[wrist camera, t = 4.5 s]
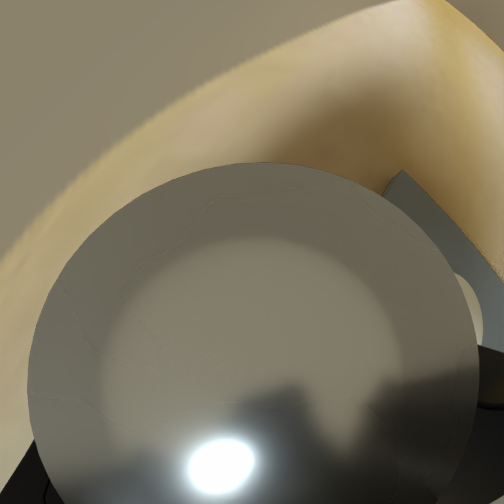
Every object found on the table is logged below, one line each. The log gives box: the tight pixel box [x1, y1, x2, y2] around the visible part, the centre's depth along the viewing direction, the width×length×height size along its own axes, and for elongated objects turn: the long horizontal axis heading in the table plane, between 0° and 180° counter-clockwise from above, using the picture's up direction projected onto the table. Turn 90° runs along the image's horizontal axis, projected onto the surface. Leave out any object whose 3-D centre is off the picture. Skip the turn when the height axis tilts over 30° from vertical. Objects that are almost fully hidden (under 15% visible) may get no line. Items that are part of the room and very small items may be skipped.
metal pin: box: [27, 162, 479, 504], centre depth 8 cm, size 4×4×12 cm
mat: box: [382, 170, 504, 352], centre depth 16 cm, size 20×11×1 cm, turn 51°
